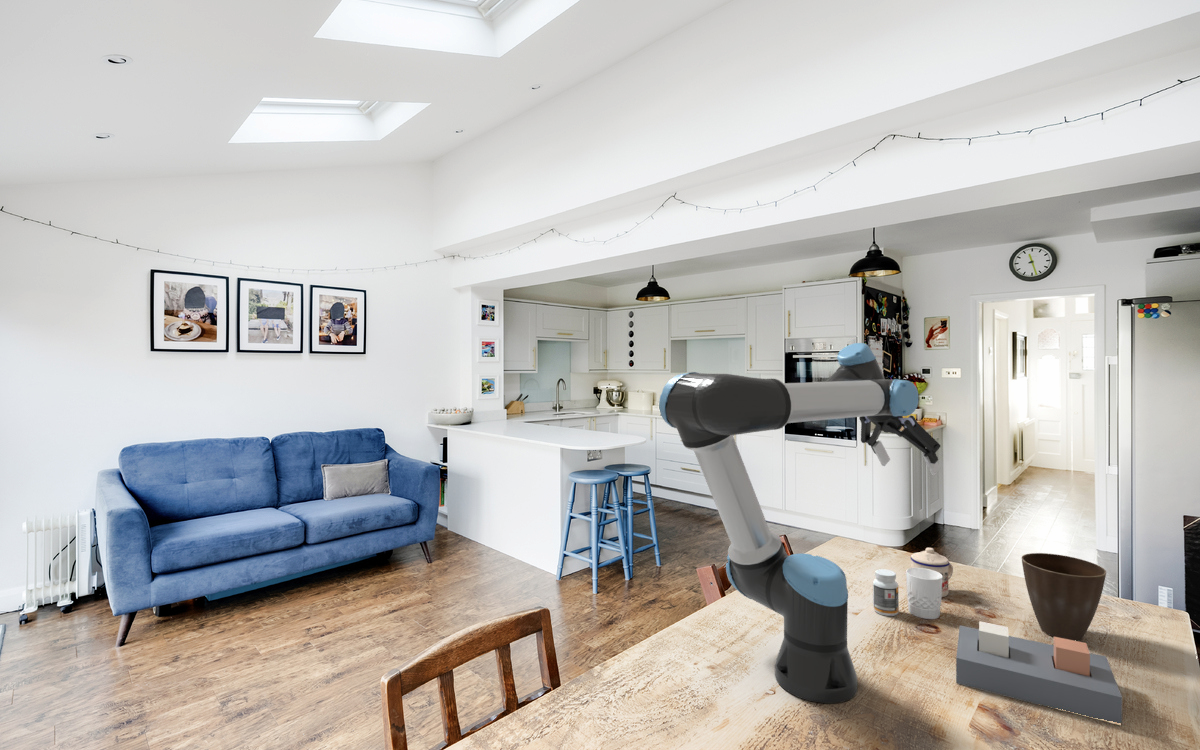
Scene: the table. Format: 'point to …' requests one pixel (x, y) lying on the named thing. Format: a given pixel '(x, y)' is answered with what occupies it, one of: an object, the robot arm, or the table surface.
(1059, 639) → the terracotta plug
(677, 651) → the table surface
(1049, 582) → the plant pot
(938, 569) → the teacup with lid
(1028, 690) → the socket block
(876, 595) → the pill bottle
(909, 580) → the white cup
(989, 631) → the ivory plug
